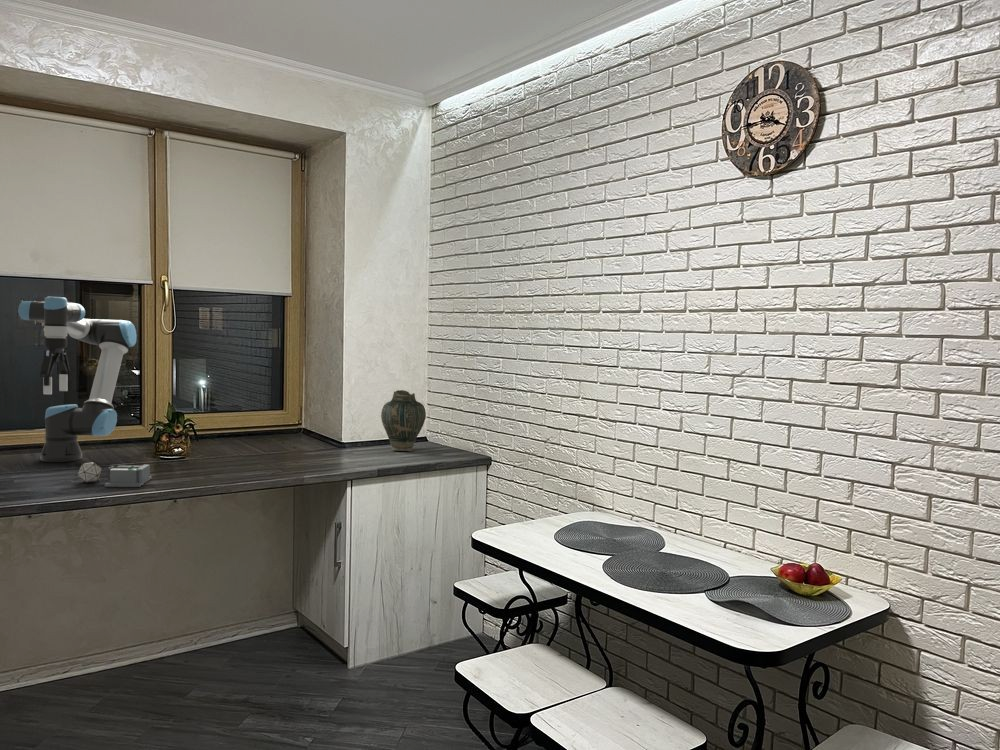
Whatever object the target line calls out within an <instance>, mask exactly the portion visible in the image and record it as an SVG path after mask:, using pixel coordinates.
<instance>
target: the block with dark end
mask: <svg viewBox="0 0 1000 750" xmlns="http://www.w3.org/2000/svg"><path fill="white" fill-rule="evenodd" d="M129 466H130V467H129V468H128V469H134V466H135V465H129ZM110 469H117V466H116V465H110V466H109V467H107V481H110Z"/></svg>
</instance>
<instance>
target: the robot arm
mask: <svg viewBox="0 0 1000 750" xmlns="http://www.w3.org/2000/svg"><path fill="white" fill-rule="evenodd" d="M85 309H86V308H84V306H83V305H82V304H80V303H76V302H68V299H67V298H66V297H63V296H62V297H61V296H46V297H44V301H33V300H29V301H28V300H26V301H25V300H24V301H22V302H20V303H19V306H18V310H17V311H18V316H19V317H20V319H21V320H24V321H29V322H30V321H35V322H38V323H41V324H43V326H44V327H43V329H42V330H43V331H44V333H43V334H44V338H43V347H44V348H48V350H44V352H43V359H42V364H41V368H40V372H39V377H40V378H42V379H43V380H42V383H43V384H42V385H43V386H42V389H43V390H42V391H43V393H42V394H43V395H53V377H52V374H53V370H54V368H55V365H56V366H57V369H58V370H59V373H60V374H58V377H59V380H58V385H59V387H58V388H59V389H58V390H59V392H68V390H69V389H68V385H69V384H68V382H69V381H68V380H69V378H68V375H71V367H70V363H69V358H68V352H67V351H68V350H67V349H66V348H67V347H68V338H67V337H68V335H69V337H71V338H73V339H75V340H78V341H80V342H84V343H87V344H90V345H95V346H99V348H100V350H101V353H100V356H99V358H98V359H99V360H98V363H97V367H96V371H95V376H94V378H93V383H92V387H91V390H90V395H89V398H88V399H87V400H85V401H84V402H83V405H82V407H79V406H78V404H76V403H75V404H73V403H71V404H61V405H55V406H49V407H48V408H46V409H45V415H44V423H45V425H44V426H45V437H44V438H45V440H44V441H45V442H44V444H43V448H42V450H41V453H40V462H44V463H66V462H68V463H69V462H74V461H80V460H81V459H83V452H82V450H81V447H80V444H79V441H78V436H86V437H87V436H88V437H107V436H108V435H111V433H113V431H114V430H115V428H116V425H117V422H118V418H117V417H118V413H117V411H116V410H115V407H114V405H113V404H112V403H113V402H112V401H113V399H114V393H115V389H116V387H117V386H116V385H117V382H118V381H117V380H118V377H119V373H120V370H121V365H122V361H123V358H124V357H123V356H124V355H125V354H127V353H129V348H131V347H134V346H135V345H136V344H137V338H138V337H137V336H138V335H137V331H136V327H135V325H134V324H133V322H132V321H129V320H123V319H101V318H98V319H97V318H95V319H94V318H92V319H91V318H85V317H86V310H85Z"/></svg>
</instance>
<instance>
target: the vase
mask: <svg viewBox="0 0 1000 750" xmlns="http://www.w3.org/2000/svg"><path fill="white" fill-rule="evenodd" d="M391 398H392V399H391V400H390V401H388V402H386V403H384V405H383V407H382V408H381V409H382V410H381V413H380V414H381V415H380V419H381V423H382V426H383V429H384V431H385V433H386V435H387V438H388V440H389V443H390V446H391V450H392V451H393V452H395V451H397V452H413V451H414V448H413V447H414V446H415V442H416V440H417V437H418V436H419V434H420V432H421V431H422V430H423V429H422V428H423V427H424V424H425V420H426V417H427V412H426V408H425V405H423V403H422V402H419V401H418V400H417V399H416V394H415V393H410V392H409V391H407V390H403V389H402V390H399V389H397V390H396V391H393V394H392V397H391Z"/></svg>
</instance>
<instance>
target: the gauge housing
mask: <svg viewBox="0 0 1000 750" xmlns="http://www.w3.org/2000/svg"><path fill="white" fill-rule="evenodd" d="M130 466H131V465H117V466H116V469H110V480H108V481H107V482H105V483H104V487H105V488H107V487H108V488H109V487H113V488H116V487H117V488H119V487H120V488H121V487H122V488H133V487H134V488H138V487H139V488H140V487H141V485H142V486H143V485H145V484H146V483H148V482H149V481H150V479H151V480H152V478H153V477H152V475H150V474H151V464H143V465H133V466H134V469H128V468H129V467H130ZM147 481H148V482H147ZM145 482H146V483H145ZM144 483H145V484H144Z"/></svg>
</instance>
